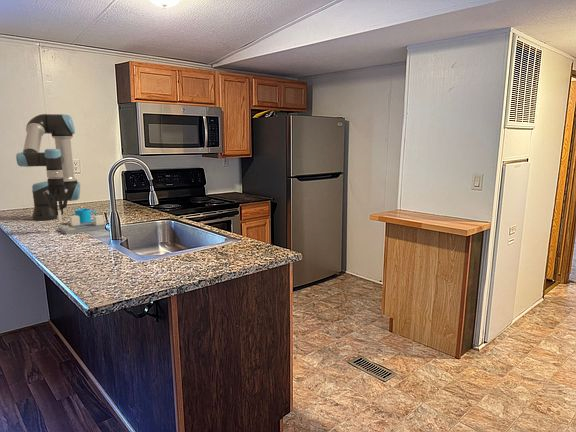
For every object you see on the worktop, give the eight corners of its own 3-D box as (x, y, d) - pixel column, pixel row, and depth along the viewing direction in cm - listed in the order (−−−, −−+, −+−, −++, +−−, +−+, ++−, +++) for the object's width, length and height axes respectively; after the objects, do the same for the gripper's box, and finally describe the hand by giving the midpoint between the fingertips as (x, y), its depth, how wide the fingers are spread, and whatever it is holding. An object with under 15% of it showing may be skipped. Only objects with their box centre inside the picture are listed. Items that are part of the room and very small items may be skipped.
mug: (78, 225, 239) (77, 211, 238) (74, 223, 245) (73, 209, 244) (99, 222, 247) (98, 209, 246) (95, 220, 253) (94, 207, 252)
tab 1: (70, 225, 228) (69, 216, 227) (77, 224, 231) (77, 215, 230) (72, 226, 225) (71, 217, 224) (80, 225, 228) (79, 216, 227)
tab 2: (94, 224, 229) (93, 215, 228) (101, 223, 232) (100, 215, 231) (96, 225, 226) (95, 216, 226) (103, 224, 229) (103, 216, 228)
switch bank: (58, 230, 225) (57, 226, 225) (106, 223, 243) (105, 219, 242) (66, 234, 215) (65, 230, 215) (115, 227, 233) (115, 223, 233)
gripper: (43, 179, 211) (48, 223, 215) (70, 177, 220) (74, 220, 224) (39, 178, 216) (44, 221, 220) (66, 176, 225) (70, 218, 229)
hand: (59, 221), depth 222 cm, fingers closed
